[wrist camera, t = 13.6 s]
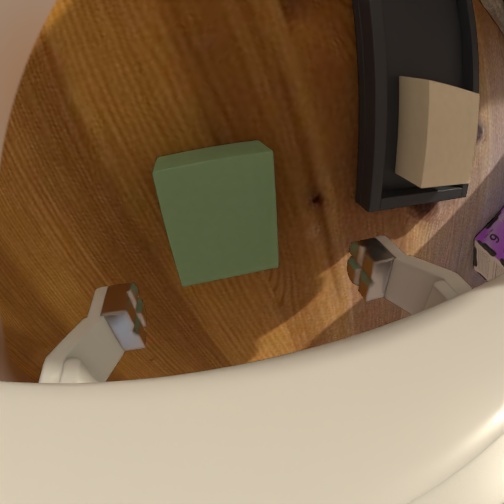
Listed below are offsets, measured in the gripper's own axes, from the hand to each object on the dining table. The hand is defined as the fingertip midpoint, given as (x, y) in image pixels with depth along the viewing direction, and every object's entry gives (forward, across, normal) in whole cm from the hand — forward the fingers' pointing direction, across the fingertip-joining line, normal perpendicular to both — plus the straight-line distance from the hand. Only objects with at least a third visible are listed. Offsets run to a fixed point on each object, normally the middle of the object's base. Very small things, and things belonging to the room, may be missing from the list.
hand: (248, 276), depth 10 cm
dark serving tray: (+6, -12, -8) cm, 16 cm away
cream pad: (+5, -13, -4) cm, 14 cm away
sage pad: (+6, 0, 0) cm, 6 cm away
